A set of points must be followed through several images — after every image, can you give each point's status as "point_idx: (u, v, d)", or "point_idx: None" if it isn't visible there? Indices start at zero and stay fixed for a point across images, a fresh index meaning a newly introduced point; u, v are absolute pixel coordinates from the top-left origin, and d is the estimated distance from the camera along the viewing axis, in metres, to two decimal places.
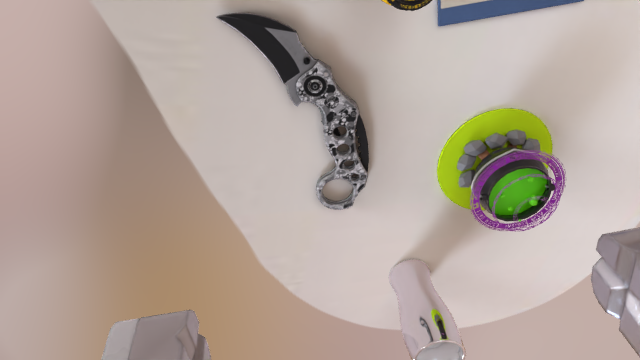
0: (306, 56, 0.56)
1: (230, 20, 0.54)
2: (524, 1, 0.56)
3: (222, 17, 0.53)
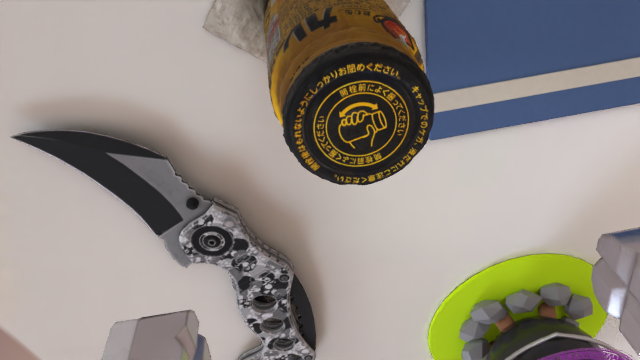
0: (191, 196, 0.31)
1: (39, 142, 0.29)
2: (582, 97, 0.31)
3: (22, 137, 0.28)
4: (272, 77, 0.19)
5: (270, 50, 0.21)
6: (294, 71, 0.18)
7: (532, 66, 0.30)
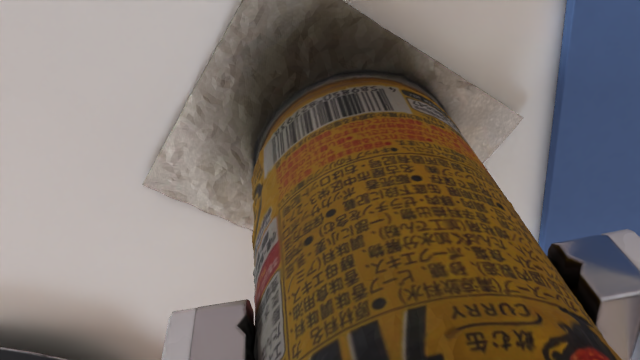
0: None
1: None
2: None
3: None
4: None
5: (260, 344, 0.09)
6: None
7: None
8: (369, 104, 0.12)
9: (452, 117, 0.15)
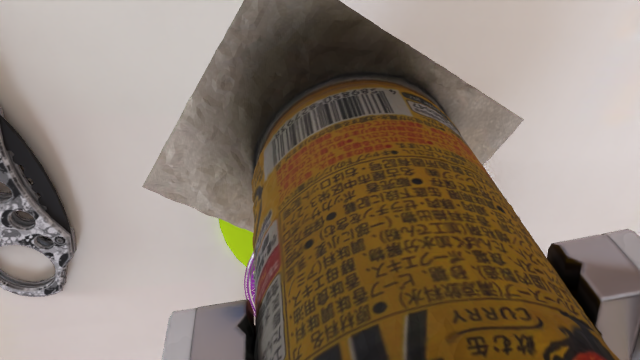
0: None
1: None
2: None
3: None
4: None
5: (260, 347, 0.09)
6: None
7: None
8: (369, 107, 0.12)
9: (452, 119, 0.15)
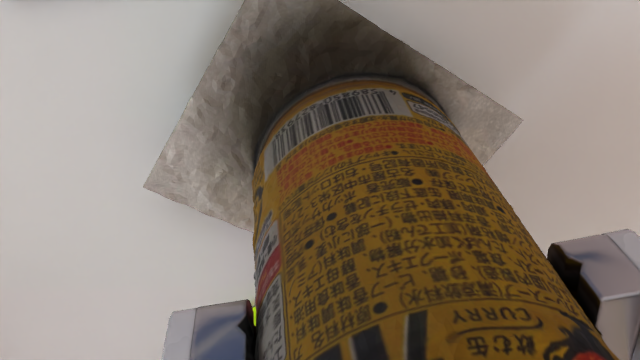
0: None
1: None
2: None
3: None
4: None
5: (261, 347, 0.09)
6: None
7: None
8: (369, 107, 0.12)
9: (452, 119, 0.15)
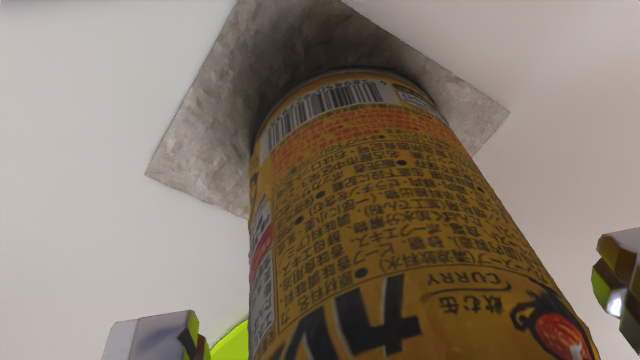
0: None
1: None
2: None
3: None
4: None
5: (253, 316, 0.09)
6: None
7: None
8: (360, 96, 0.13)
9: (442, 111, 0.16)
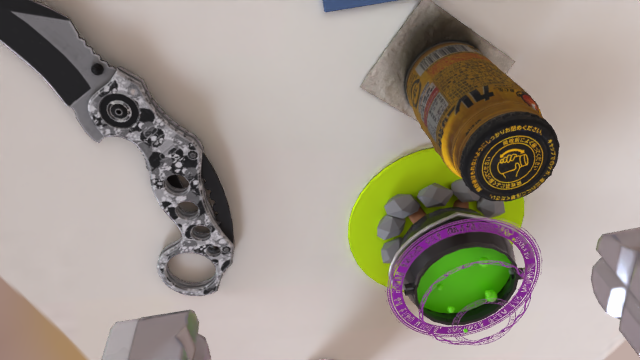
0: (96, 61, 0.33)
1: None
2: None
3: None
4: (445, 129, 0.29)
5: (436, 110, 0.31)
6: (469, 128, 0.28)
7: None
8: (459, 49, 0.34)
9: None
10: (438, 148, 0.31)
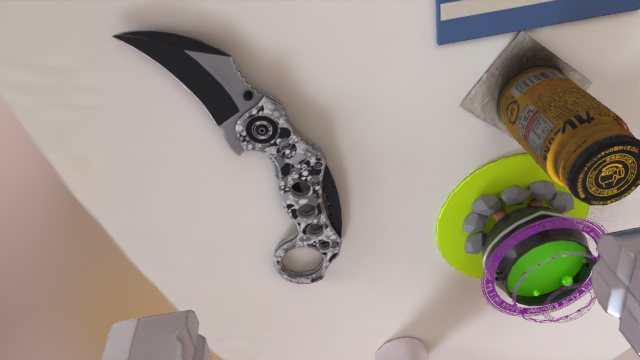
0: (247, 89, 0.40)
1: (133, 41, 0.37)
2: (559, 9, 0.40)
3: (121, 36, 0.37)
4: (552, 147, 0.36)
5: (540, 129, 0.37)
6: (576, 147, 0.34)
7: None
8: (551, 75, 0.40)
9: None
10: (542, 161, 0.37)
